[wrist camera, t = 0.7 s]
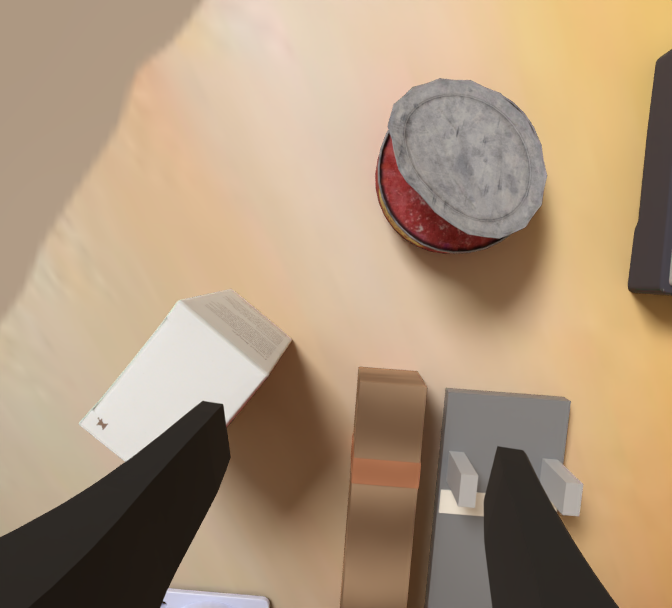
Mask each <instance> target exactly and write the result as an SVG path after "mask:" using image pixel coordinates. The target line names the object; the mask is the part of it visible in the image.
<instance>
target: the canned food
mask: <svg viewBox="0 0 672 608" xmlns="http://www.w3.org/2000/svg"><path fill="white" fill-rule="evenodd" d="M388 129H389V130H388V131H387V133H386V135H385V138H384V141H383V143H382V146H381V149H380V154H379V157H378V161H377V167H376V173H375V179H376V192H377V196H378V201H379V204H380V206H381V209H382V211H383V213H384V215H385V217H386V219H387V220H388V222H389V223H390V224H391V226H392V227H393V229H395V230H396V231H397V232H398V233H399V234H400V235H401V236H402V237H403V238H404V239H406V240H407V241H409V242H411V243H412V244H414V245H415V246H417V247H420V248H423V249H425V250H428V251H432V252H438V253H471V252H475V251H479V250H484V249H486V248H489V247H491V246H493V245H495V244H498V243H500V242H501V241H503V240H504V239H505V238H507V237H508V236H510V235H511V234H513V233H514V232H516V231H518V230H521V229H523V228H525V227H526V226H527V224H528V223H529V221H530V220H531V218H532V217H533V215H534V214H535V213H536V211H537V210H538V209H539V208H540V206H541V205H542V199H543V192H544V187H545V183H546V178H547V173H546V169H545V164H544V160H543V153H542V145H541V143H540V141H539V138H538V136H537V133H536V131H535V129H534V127H533V125H532V124H531V122H530V121H529V119H528V118H527V116H526V115H525V113H524V112H523V111H522V110H521V109H520V108H519V107H518V106H517V105H516V104H515V103H514V102H512V101H511V100H509V99H507V98H506V97H504V96H503V95H502V94H501V93H499V92H496V91H493V90H491V89H488V88H486V87H484V86H481V85H479V84H477V83H475V82H473V81H471V80H450V79H441V78H439V79H437V80H434V81H432V82H429V83H426V84H423V85H419V86H415V87H412V88H411V89H410V90H409V91H408V92H407V93H406V94H405V95H404V96H403V97H402V98H401V99H400V100H398V101H397V102H396V103H395V104H394V105H393V109H392V112H391V116H390V119H389V123H388Z"/></svg>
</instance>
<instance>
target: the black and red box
mask: <svg viewBox="0 0 672 608" xmlns="http://www.w3.org/2000/svg"><path fill="white" fill-rule="evenodd" d="M628 289H629V291H631V292H633V293H643V294H657V295H672V49H671V50H670V51H668V52H667V53H666V54H664V55H663V56H661V57H660V58H659V59H658V60H657V62H656V66H655V74H654V82H653V89H652V97H651V105H650V114H649V122H648V130H647V139H646V150H645V160H644V170H643V181H642V191H641V201H640V211H639V220H638V223H637V226H636V228H635V232H634V239H633V247H632V255H631V263H630V271H629V279H628Z"/></svg>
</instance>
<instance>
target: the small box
mask: <svg viewBox="0 0 672 608" xmlns="http://www.w3.org/2000/svg"><path fill="white" fill-rule="evenodd" d="M291 342H292V339H291V338H290V337H289V336H288V335H287V334H286V333H285V332H283V331H282V330H281V329H280V328H279V327H278V326H276V325H275V324H274V323H273V322H272V321H270V320H269V319H268V318H267V317H266V316H264V315H263V314H262V313H261V312H260V311H258V310H257V309H256V308H255V307H254V306H252V305H251V304H250V303H249V302H248V301H246V300H245V299H244V298H243V297H241V296H240V295H239V294H238V293H236V292H235V291H234V290H233V289H229V290H224V291H219V292H215V293H210V294H205V295H200V296H196V297H192V298H187V299H182V300H179V301H177V302H176V304H175V305H174V307H173V308H172V310H171V311H170V312H169V314H168V315H167V316H166V318H165V319H164V321H163V322H162V323H161V324H160V326H159V327H158V328H157V330H156V331H155V332H154V334H153V335H152V336H151V337H150V339H149V340H148V341H147V342H146V343H145V345H144V346H143V347H142V348H141V350H140V351H139V352H138V353H137V355H136V356H135V357H134V358H133V360H132V361H131V362H130V363H129V365H128V366H127V367H126V368H125V370H124V371H123V372H122V373H121V375H120V376H119V377H118V378H117V379H116V381H115V382H114V383H113V384H112V385H111V387H110V388H109V389H108V390H107V392H106V393H105V394H104V395H103V396H102V398H101V399H100V400H99V401H98V402H97V403H96V404H95V406H94V407H93V408H92V409H91V410H90V411H89V412H88V413H87V414H86V416H85V417H84V418H83V419H82V420H81V421H80V422H79V425H80V426H81V427H83V428H84V429H85V430H86V431H88V432H89V433H90V434H91V435H93V436H94V437H95V438H96V439H97V440H98V441H100V442H101V443H102V444H104V445H105V446H106V447H107V448H108V449H110V450H111V451H112V452H113V453H115V454H116V455H117V456H118V457H120V458H121V459H122V460H123V461H125V462H126V461H127V460H129V459H130V458H131V457H133V456H134V455H135V454H137V453H138V452H139V451H141V450H142V449H143V448H144V447H146V446H147V445H148V444H149V443H151V442H152V441H153V440H155V439H156V438H157V437H158V436H160V435H161V434H162V433H163V432H165V431H166V430H167V429H168V428H169V427H171V426H172V425H173V424H174V423H176V422H177V421H178V420H179V419H180V418H182V417H183V416H184V415H185V414H187V413H188V412H189V411H190V410H191V409H193V408H194V407H195V406H196V405H198V404H199V403H200V402H202V401H207V402H214V403H220V404H223V405H224V413H225V420H226V427H228V425H229V424H230V423H231V422H232V421H233V419H234V418H235V417H236V416H237V415H238V413H239V412H240V411H241V410H242V409H243V407H244V406H245V405H246V404H247V402H248V401H249V400H250V399H251V397H252V396H253V395H254V394H255V393H256V391H257V390H258V389H259V388H260V386H261V385H262V384H263V382H264V381H265V380H266V379H267V378H268V376H269V375H270V373H271V372H272V370H273V369H274V367H275V366H276V364H277V363H278V361H279V359H280V358H281V356H282V355H283V354H284V352H285V350H286V349H287V347H288V346H289V345H290V343H291Z"/></svg>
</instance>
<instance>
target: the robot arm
mask: <svg viewBox="0 0 672 608" xmlns="http://www.w3.org/2000/svg"><path fill="white" fill-rule="evenodd" d="M230 458H231V457H230V449H229V442H228V435H227V427H226V420H225V413H224V405H223V404H220V403H214V402H207V401H202V402H200V403H199V404H198V405H196V406H195V407H194V408H193V409H191V410H190V411H189V412H188V413H187V414H185V415H184V416H183V417H182V418H180V419H179V420H178V421H177V422H176V423H174V424H173V425H172V426H171V427H169V428H168V429H167V430H166V431H165V432H163V433H162V434H161V435H160V436H158V437H157V438H156V439H155V440H153V441H152V442H151V443H149V444H148V445H147V446H146V447H144V448H143V449H142V450H141V451H139V452H138V453H137V454H135V455H134V456H133V457H131V458H130V459H129V460H127V461H126V462H125V463H123V464H122V465H120V466H119V467H118V468H116V469H115V470H113V471H112V472H111V473H109V474H108V475H107V476H105V477H104V478H102V479H101V480H99V481H98V482H96V483H95V484H93V485H92V486H90V487H89V488H87V489H86V490H84V491H82V492H81V493H79V494H78V495H76V496H74V497H73V498H71V499H70V500H68V501H66V502H65V503H63V504H61V505H60V506H58V507H56V508H54V509H53V510H51V511H49V512H47V513H45V514H43V515H42V516H40V517H38V518H36V519H34V520H32V521H31V522H29V523H27V524H25V525H23V526H21V527H20V528H18V529H16V530H14V531H12V532H10V533H8V534H6V535H4V536H2V537H0V608H269V607H270V602H269V600H268V598H266V597H264V596H253V595H241V594H229V593H217V592H206V591H194V590H182V589H170V588H168V587H169V585H170V583H171V581H172V579H173V577H174V575H175V573H176V571H177V569H178V567H179V565H180V563H181V561H182V559H183V557H184V556H185V554H186V552H187V550H188V548H189V546H190V544H191V542H192V540H193V538H194V537H195V535H196V533H197V531H198V529H199V527H200V525H201V523H202V521H203V519H204V518H205V516H206V514H207V512H208V510H209V508H210V506H211V504H212V502H213V500H214V498H215V496H216V494H217V492H218V490H219V487H220V484H221V482H222V479H223V477H224V474H225V471H226V469H227V466H228V463H229V460H230ZM483 502H484V545H485V554H486V562H487V570H488V578H489V585H490V593H491V601H492V608H619V607H618V606H617V604H616V603H615V602H614V600H613V599H612V597H611V596H610V595H609V593H608V592H607V590H606V589H605V588H604V586H603V585H602V583H601V582H600V580H599V579H598V578H597V576H596V575H595V573H594V572H593V570H592V569H591V567H590V566H589V564H588V563H587V561H586V560H585V558H584V557H583V555H582V553H581V552H580V550H579V549H578V547H577V546H576V544H575V542H574V541H573V539H572V538H571V536H570V534H569V532H568V531H567V529H566V527H565V526H564V524H563V522H562V521H561V519H560V517H559V516H558V514H557V512H556V510H555V509H554V507H553V505H552V503H551V501H550V500H549V498H548V496H547V494H546V492H545V490H544V488H543V487H542V485H541V483H540V481H539V479H538V477H537V475H536V473H535V471H534V469H533V467H532V465H531V462H530V460H529V458H528V456H527V454H526V453H525V452H524V451H523V450H519V449H513V448H506V447H500V446H497V450H496V453H495V457H494V461H493V465H492V469H491V473H490V477H489V481H488V485H487V489H486V493H485V497H484V501H483ZM163 601H164V602H166V604H163V603H162V602H163Z"/></svg>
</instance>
